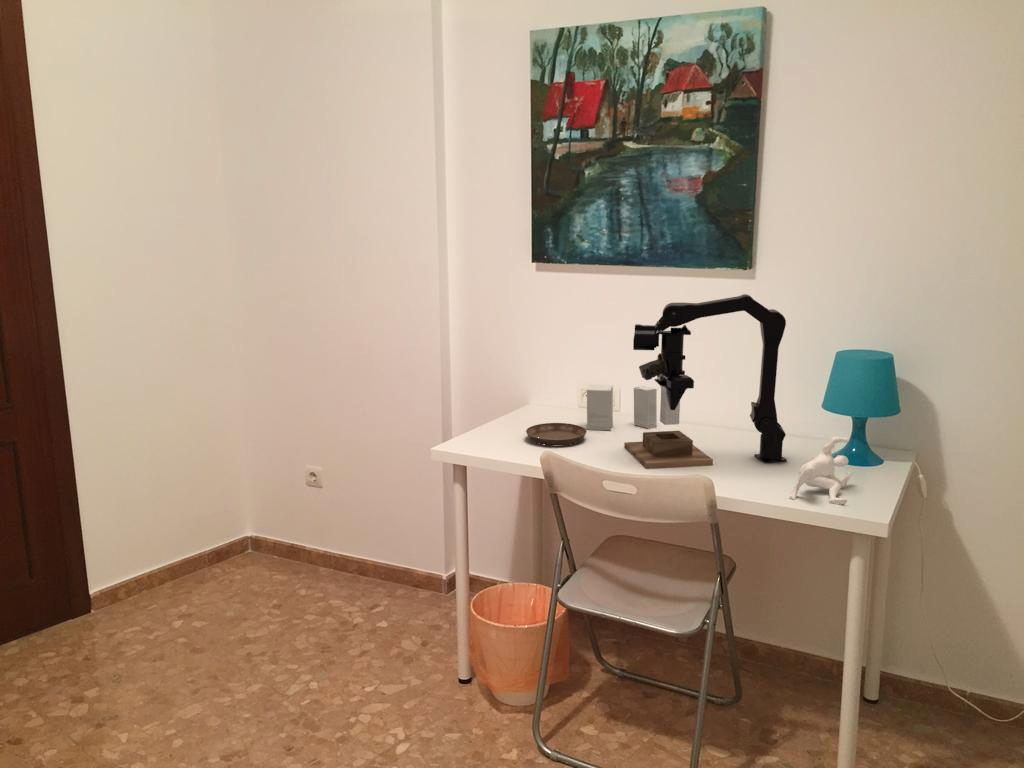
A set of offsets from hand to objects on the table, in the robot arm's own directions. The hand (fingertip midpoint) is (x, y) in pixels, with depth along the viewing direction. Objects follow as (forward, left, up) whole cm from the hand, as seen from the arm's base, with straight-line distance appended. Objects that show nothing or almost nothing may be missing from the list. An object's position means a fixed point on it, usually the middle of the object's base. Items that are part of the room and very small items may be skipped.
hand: (670, 408), depth 225 cm
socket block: (-1, +1, -13) cm, 13 cm away
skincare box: (+31, -3, -13) cm, 34 cm away
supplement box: (+32, +11, -13) cm, 37 cm away
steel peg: (0, 0, -4) cm, 4 cm away
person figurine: (-35, -25, -14) cm, 45 cm away
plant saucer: (+21, +27, -14) cm, 37 cm away
